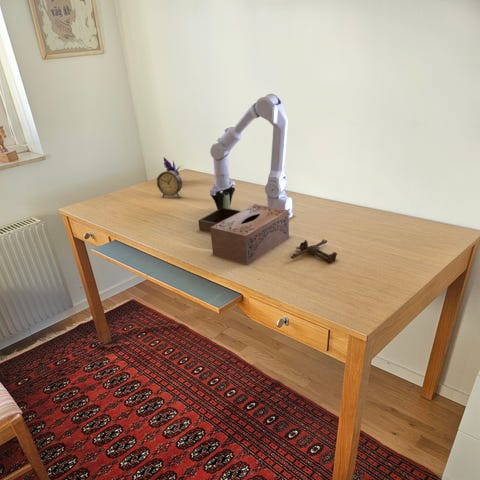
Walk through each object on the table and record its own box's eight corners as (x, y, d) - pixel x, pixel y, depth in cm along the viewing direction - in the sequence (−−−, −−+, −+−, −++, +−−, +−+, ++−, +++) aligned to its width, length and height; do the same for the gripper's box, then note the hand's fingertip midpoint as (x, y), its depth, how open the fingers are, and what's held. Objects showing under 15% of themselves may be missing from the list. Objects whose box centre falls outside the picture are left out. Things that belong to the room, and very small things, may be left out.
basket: (252, 224, 173) (252, 212, 170) (230, 238, 162) (229, 226, 160) (222, 218, 180) (221, 207, 177) (199, 231, 169) (198, 220, 167)
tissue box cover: (255, 229, 168) (255, 204, 162) (288, 237, 160) (288, 210, 155) (212, 255, 151) (210, 227, 145) (247, 264, 143) (245, 235, 138)
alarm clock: (158, 198, 206) (153, 162, 197) (163, 194, 210) (158, 159, 201) (180, 199, 203) (175, 162, 194) (185, 195, 207) (180, 159, 198)
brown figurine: (315, 263, 135) (281, 245, 144) (314, 275, 138) (280, 257, 146) (351, 244, 145) (317, 229, 153) (349, 256, 147) (315, 240, 156)
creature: (189, 179, 228) (186, 155, 222) (163, 189, 217) (159, 163, 211) (177, 177, 233) (174, 153, 227) (151, 186, 222) (147, 161, 215)
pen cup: (233, 212, 185) (231, 192, 181) (225, 216, 182) (224, 196, 177) (222, 210, 188) (221, 191, 183) (215, 214, 184) (213, 194, 180)
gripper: (224, 168, 183) (226, 200, 190) (202, 177, 173) (205, 211, 180) (238, 170, 179) (239, 203, 187) (217, 180, 169) (219, 214, 177)
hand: (224, 207), depth 183 cm, fingers closed on pen cup, 5 cm apart
